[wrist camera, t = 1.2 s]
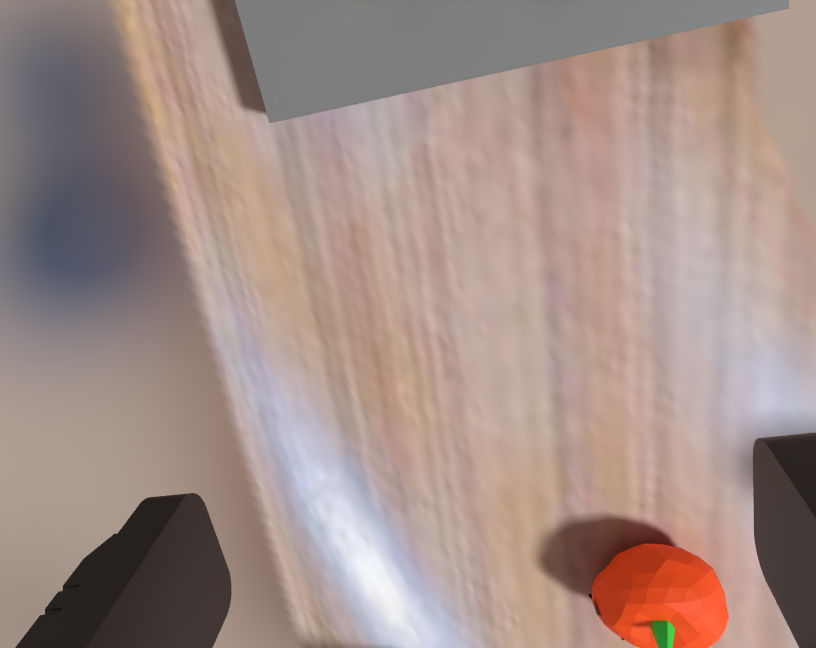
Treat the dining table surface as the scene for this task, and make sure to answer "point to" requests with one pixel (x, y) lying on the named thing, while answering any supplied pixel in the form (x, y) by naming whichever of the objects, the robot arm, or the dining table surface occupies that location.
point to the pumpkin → (661, 598)
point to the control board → (441, 41)
